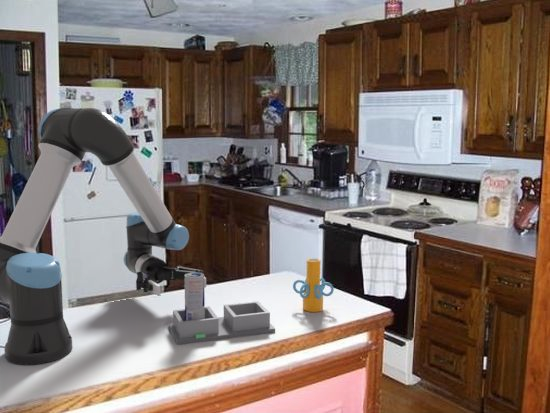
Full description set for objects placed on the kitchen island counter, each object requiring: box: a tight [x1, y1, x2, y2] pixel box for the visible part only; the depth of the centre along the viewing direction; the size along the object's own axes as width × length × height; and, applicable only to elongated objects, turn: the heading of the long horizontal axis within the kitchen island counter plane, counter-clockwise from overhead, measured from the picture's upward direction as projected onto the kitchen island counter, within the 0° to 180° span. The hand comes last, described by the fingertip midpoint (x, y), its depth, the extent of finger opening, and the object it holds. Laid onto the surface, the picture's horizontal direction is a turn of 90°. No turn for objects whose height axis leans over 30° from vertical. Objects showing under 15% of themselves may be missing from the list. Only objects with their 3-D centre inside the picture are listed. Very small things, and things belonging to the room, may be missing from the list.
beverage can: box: [183, 272, 206, 321], centre depth 151 cm, size 5×5×15 cm
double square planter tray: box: [168, 300, 276, 346], centre depth 155 cm, size 26×13×5 cm, turn 110°
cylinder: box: [292, 257, 335, 313], centre depth 171 cm, size 12×10×15 cm
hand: (182, 286), depth 157 cm, fingers open, 13 cm apart
